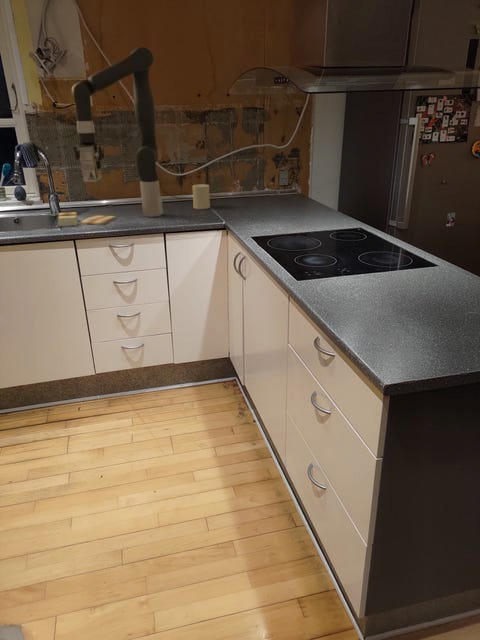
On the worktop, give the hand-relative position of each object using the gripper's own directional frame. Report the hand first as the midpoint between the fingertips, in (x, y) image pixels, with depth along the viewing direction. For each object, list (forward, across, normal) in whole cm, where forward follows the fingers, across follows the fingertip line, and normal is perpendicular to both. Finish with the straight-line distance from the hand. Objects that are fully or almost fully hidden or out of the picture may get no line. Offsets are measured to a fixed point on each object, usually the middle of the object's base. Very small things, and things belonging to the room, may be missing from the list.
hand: (91, 169), depth 228 cm
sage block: (+25, +11, +9) cm, 29 cm away
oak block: (+25, +15, +2) cm, 29 cm away
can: (+25, -42, -38) cm, 62 cm away
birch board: (+25, 0, 0) cm, 25 cm away
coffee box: (+5, 0, 0) cm, 5 cm away
